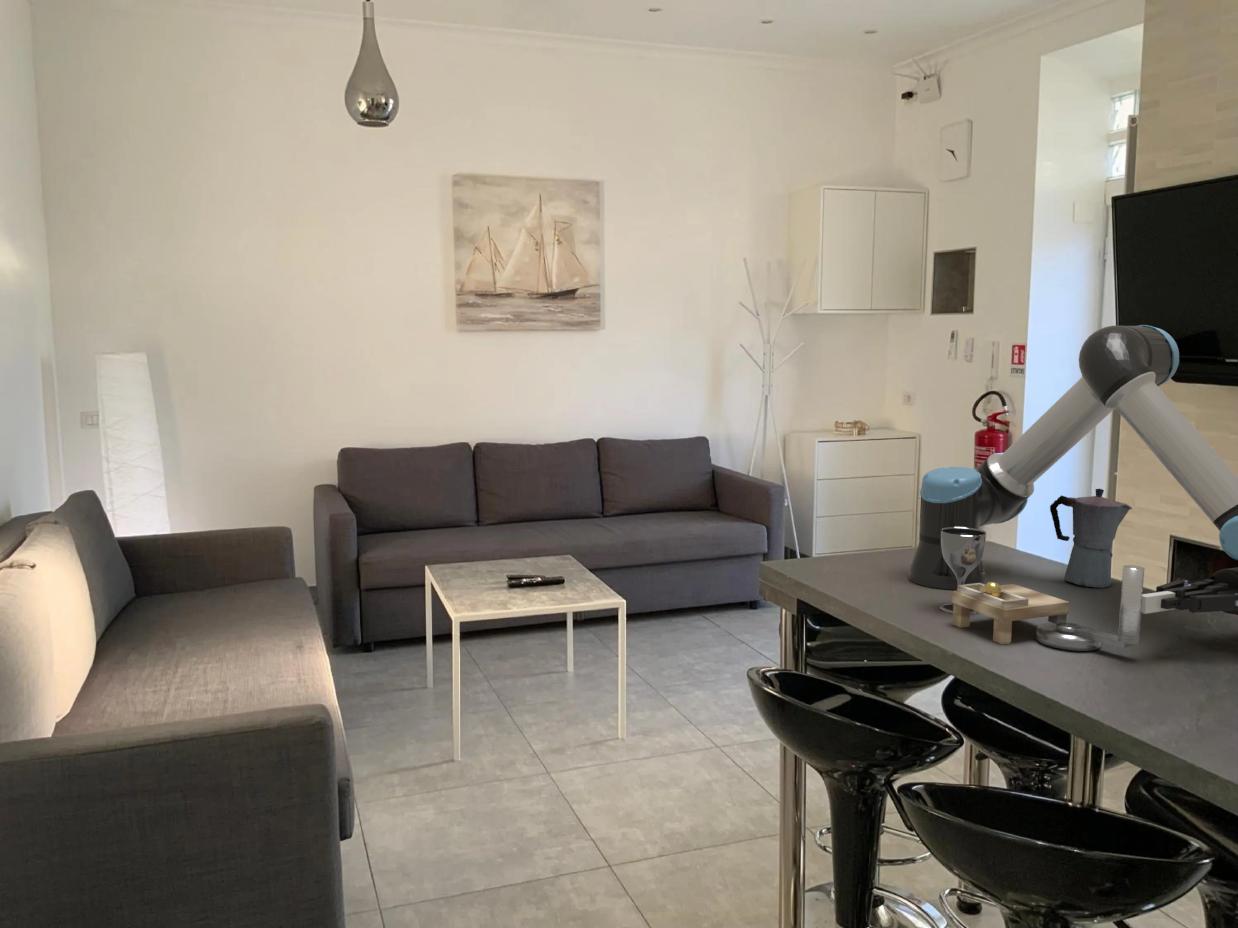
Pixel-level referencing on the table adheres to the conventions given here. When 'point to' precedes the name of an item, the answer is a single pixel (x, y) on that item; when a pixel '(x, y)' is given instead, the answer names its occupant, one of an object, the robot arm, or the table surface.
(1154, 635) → the table surface
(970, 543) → the wine glass
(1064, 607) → the stand
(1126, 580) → the silver l-shaped piece
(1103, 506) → the moka pot
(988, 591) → the ball
